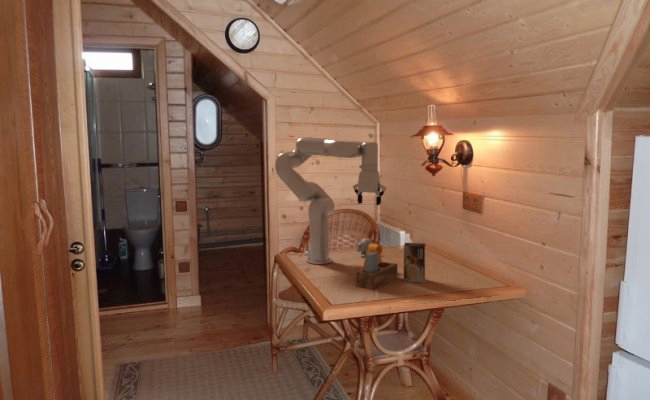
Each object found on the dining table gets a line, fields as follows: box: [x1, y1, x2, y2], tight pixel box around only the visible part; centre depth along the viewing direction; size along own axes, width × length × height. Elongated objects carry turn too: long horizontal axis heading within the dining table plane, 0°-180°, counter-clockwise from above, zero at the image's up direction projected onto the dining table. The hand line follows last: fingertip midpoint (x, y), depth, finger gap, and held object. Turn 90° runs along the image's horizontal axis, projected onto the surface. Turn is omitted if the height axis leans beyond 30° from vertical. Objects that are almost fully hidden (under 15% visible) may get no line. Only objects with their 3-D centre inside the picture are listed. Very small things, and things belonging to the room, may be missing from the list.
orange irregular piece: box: [363, 242, 384, 269], centre depth 238 cm, size 11×7×12 cm
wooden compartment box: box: [355, 260, 398, 290], centre depth 218 cm, size 9×22×6 cm, turn 148°
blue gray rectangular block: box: [364, 252, 378, 274], centre depth 213 cm, size 3×6×12 cm, turn 147°
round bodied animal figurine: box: [355, 237, 374, 255], centre depth 267 cm, size 7×12×8 cm, turn 135°
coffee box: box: [403, 242, 426, 284], centre depth 219 cm, size 9×6×16 cm
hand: (369, 204), depth 240 cm, fingers open, 9 cm apart
